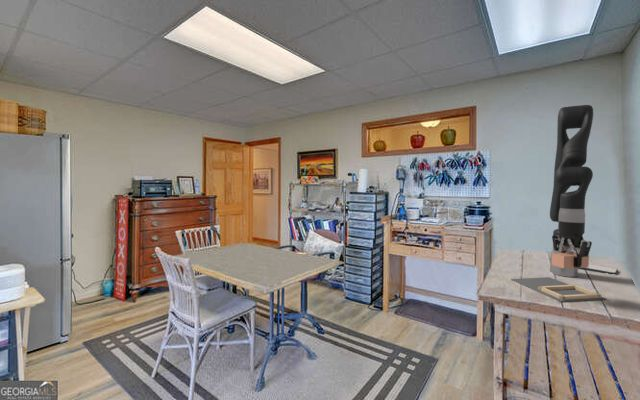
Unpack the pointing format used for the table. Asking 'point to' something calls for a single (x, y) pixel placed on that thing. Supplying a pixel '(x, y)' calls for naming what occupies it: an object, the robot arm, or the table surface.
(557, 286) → the mat
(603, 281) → the table surface
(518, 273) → the table surface
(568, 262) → the terracotta block
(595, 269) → the phone case
